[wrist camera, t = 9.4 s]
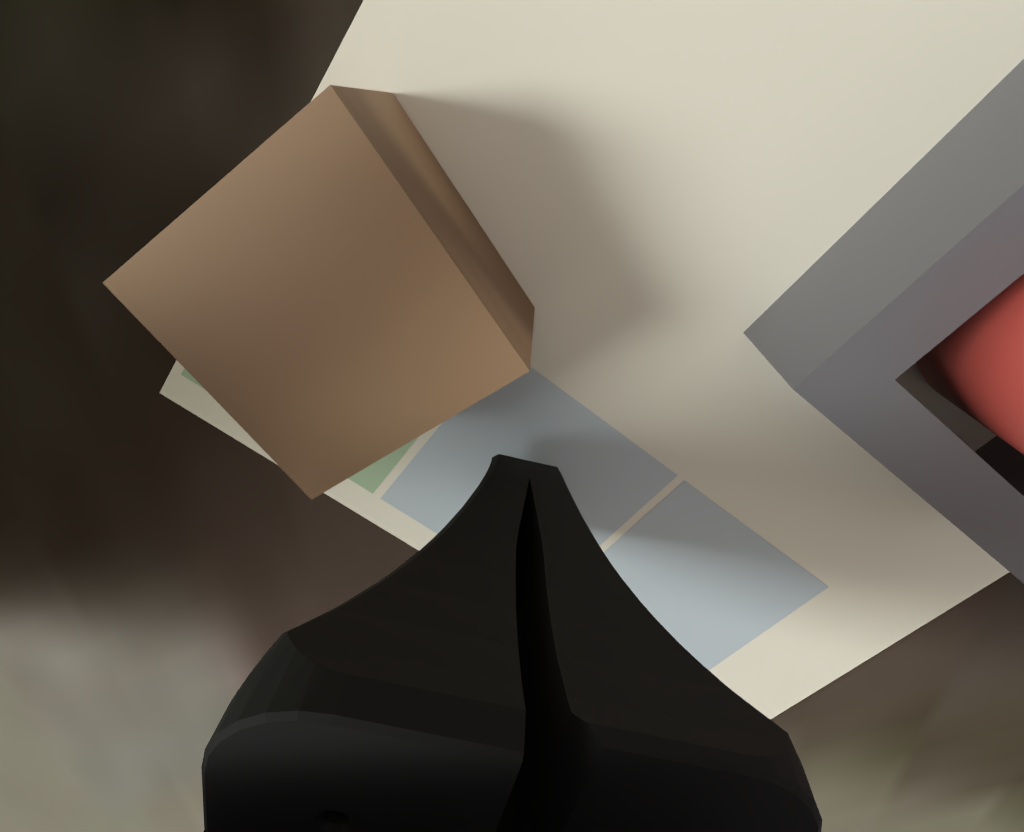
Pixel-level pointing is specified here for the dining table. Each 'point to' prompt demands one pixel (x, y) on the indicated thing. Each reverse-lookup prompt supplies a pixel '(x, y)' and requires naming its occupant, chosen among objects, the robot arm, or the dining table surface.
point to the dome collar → (918, 317)
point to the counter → (334, 291)
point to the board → (685, 296)
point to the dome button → (985, 366)
